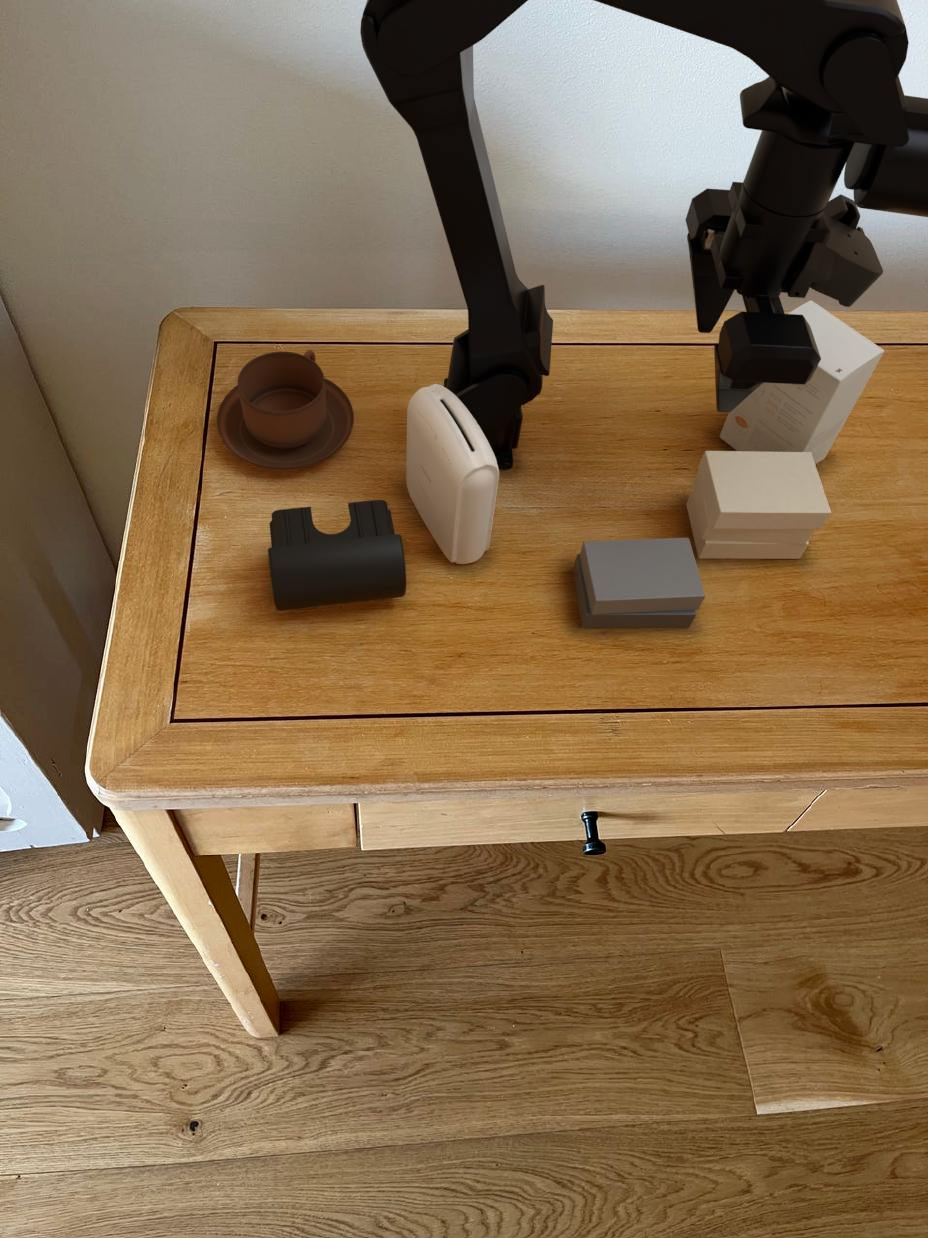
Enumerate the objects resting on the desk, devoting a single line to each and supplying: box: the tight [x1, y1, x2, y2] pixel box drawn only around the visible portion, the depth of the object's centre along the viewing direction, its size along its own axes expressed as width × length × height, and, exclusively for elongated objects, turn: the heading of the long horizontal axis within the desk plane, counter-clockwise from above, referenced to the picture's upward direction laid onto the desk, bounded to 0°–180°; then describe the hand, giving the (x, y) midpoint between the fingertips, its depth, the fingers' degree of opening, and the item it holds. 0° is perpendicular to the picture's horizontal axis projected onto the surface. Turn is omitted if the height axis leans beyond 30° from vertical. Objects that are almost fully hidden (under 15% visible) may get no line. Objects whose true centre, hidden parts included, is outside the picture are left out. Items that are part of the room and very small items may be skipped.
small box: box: [719, 299, 885, 465], centre depth 82 cm, size 8×6×13 cm
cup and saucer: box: [216, 349, 355, 472], centre depth 81 cm, size 12×12×6 cm
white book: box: [697, 450, 832, 530], centre depth 77 cm, size 9×7×2 cm
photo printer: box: [405, 383, 500, 565], centre depth 75 cm, size 10×4×12 cm, turn 26°
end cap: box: [267, 499, 407, 612], centre depth 72 cm, size 10×7×7 cm
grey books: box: [572, 537, 706, 629], centre depth 75 cm, size 9×6×4 cm
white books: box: [686, 469, 816, 560], centre depth 80 cm, size 9×6×4 cm
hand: (713, 369), depth 75 cm, fingers open, 9 cm apart
